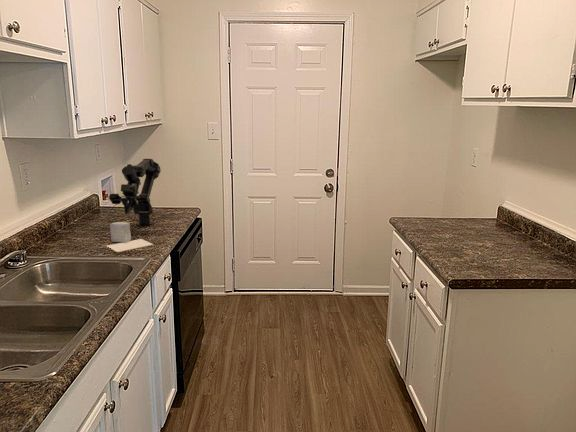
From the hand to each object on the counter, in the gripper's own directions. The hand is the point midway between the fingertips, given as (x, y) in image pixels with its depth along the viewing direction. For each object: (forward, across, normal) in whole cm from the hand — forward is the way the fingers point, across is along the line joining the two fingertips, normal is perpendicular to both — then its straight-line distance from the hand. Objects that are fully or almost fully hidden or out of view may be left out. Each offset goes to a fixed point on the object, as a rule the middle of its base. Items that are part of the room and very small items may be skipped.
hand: (126, 213), depth 225 cm
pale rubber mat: (+18, +6, -2) cm, 20 cm away
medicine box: (+14, 0, +2) cm, 14 cm away
